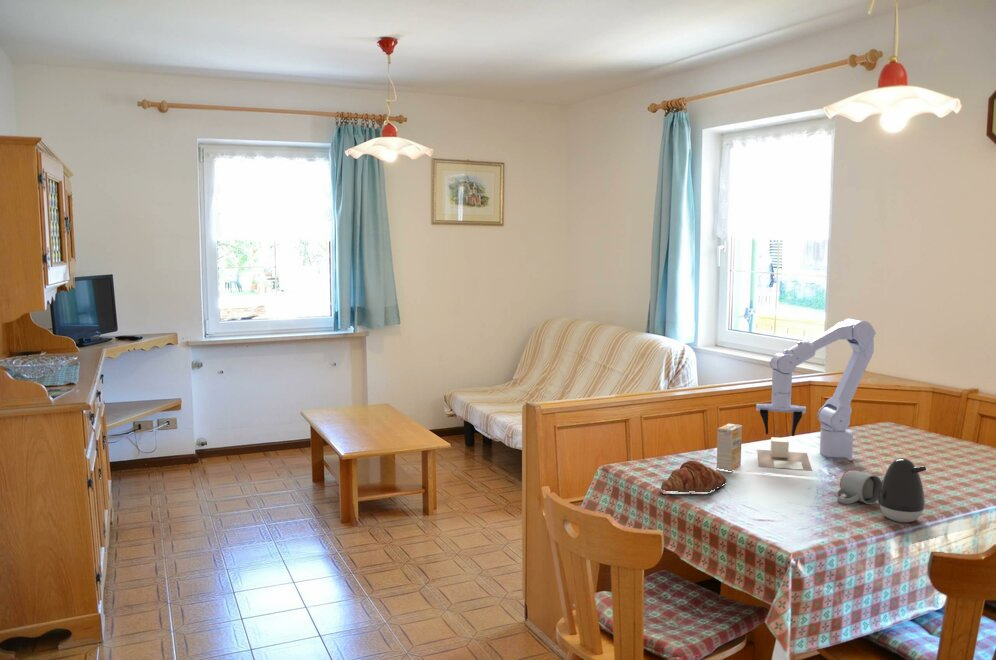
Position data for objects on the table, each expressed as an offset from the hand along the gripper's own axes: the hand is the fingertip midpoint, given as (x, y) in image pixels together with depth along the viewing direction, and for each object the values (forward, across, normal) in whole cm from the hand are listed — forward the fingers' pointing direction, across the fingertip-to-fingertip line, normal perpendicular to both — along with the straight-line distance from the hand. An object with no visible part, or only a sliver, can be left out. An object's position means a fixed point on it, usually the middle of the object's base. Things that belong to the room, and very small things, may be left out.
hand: (779, 434), depth 245 cm
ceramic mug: (+8, +18, -37) cm, 42 cm away
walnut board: (+8, +1, -5) cm, 9 cm away
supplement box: (+8, -15, -17) cm, 24 cm away
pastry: (+8, -24, -39) cm, 47 cm away
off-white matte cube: (+7, 0, 0) cm, 7 cm away
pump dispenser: (+8, +26, -49) cm, 56 cm away
